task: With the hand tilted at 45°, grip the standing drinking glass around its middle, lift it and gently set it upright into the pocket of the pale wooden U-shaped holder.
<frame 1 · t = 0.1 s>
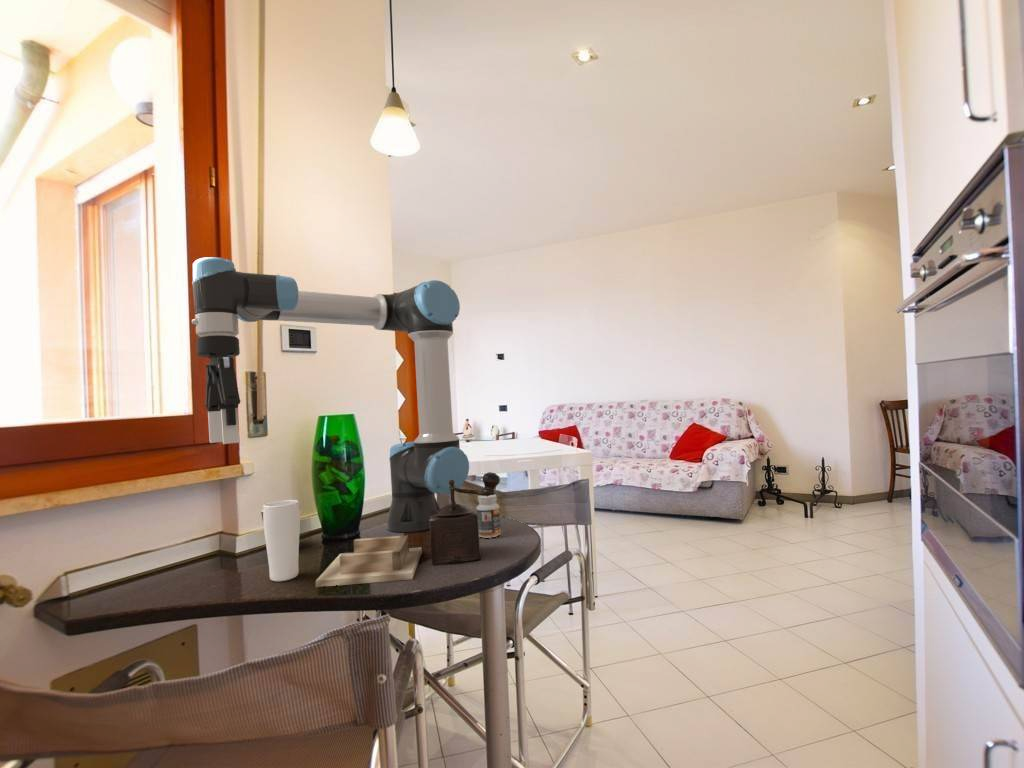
hand: (224, 443, 105), 28 cm above the table, tool pointing down, fingers open, 13 cm apart
drinking glass: (284, 578, 106), on the table
coffee mug: (282, 552, 127), on the table
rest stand: (373, 568, 109), on the table
manual coffee grinder: (467, 556, 114), on the table
pill bottle: (489, 537, 129), on the table
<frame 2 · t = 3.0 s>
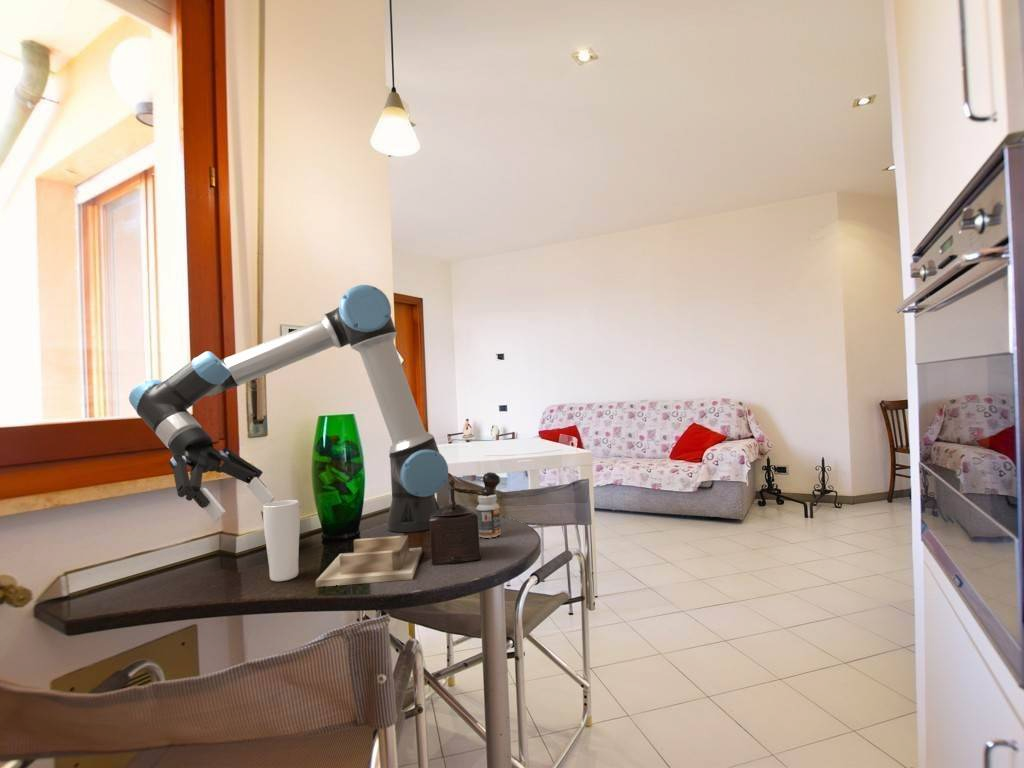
hand: (246, 509, 108), 14 cm above the table, tool tilted 45°, fingers open, 13 cm apart
nothing on the table moved.
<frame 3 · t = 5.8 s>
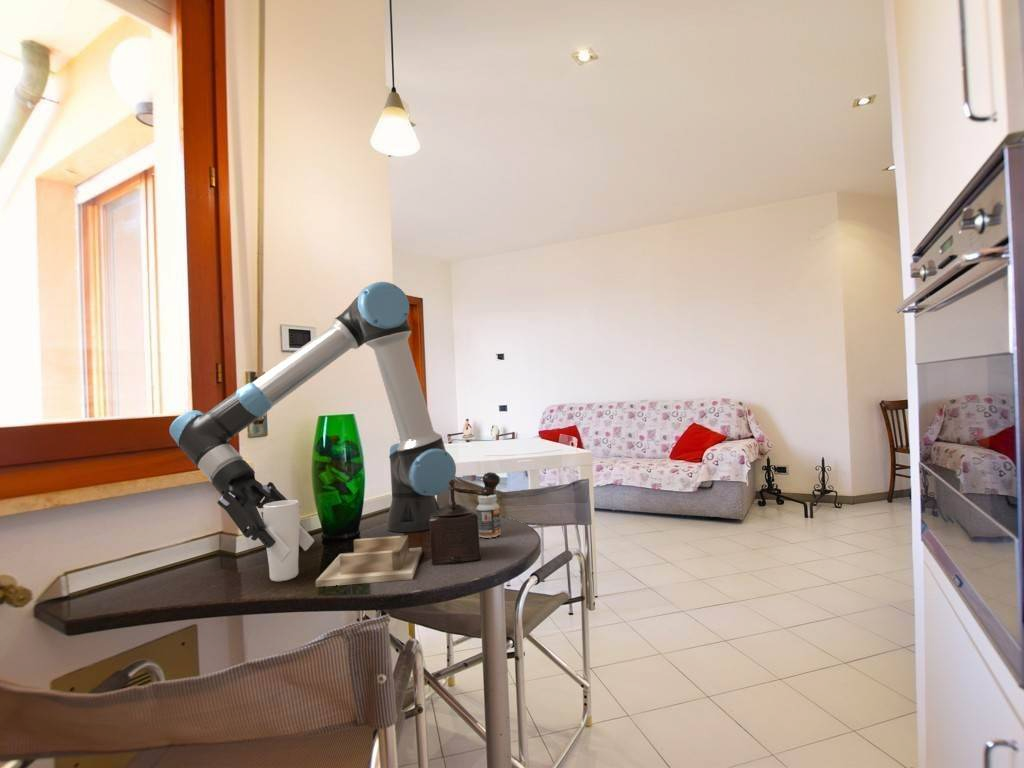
hand: (298, 550, 105), 5 cm above the table, tool tilted 45°, fingers closed on drinking glass, 7 cm apart
drinking glass: (284, 578, 106), on the table, touching gripper
everything else where it was.
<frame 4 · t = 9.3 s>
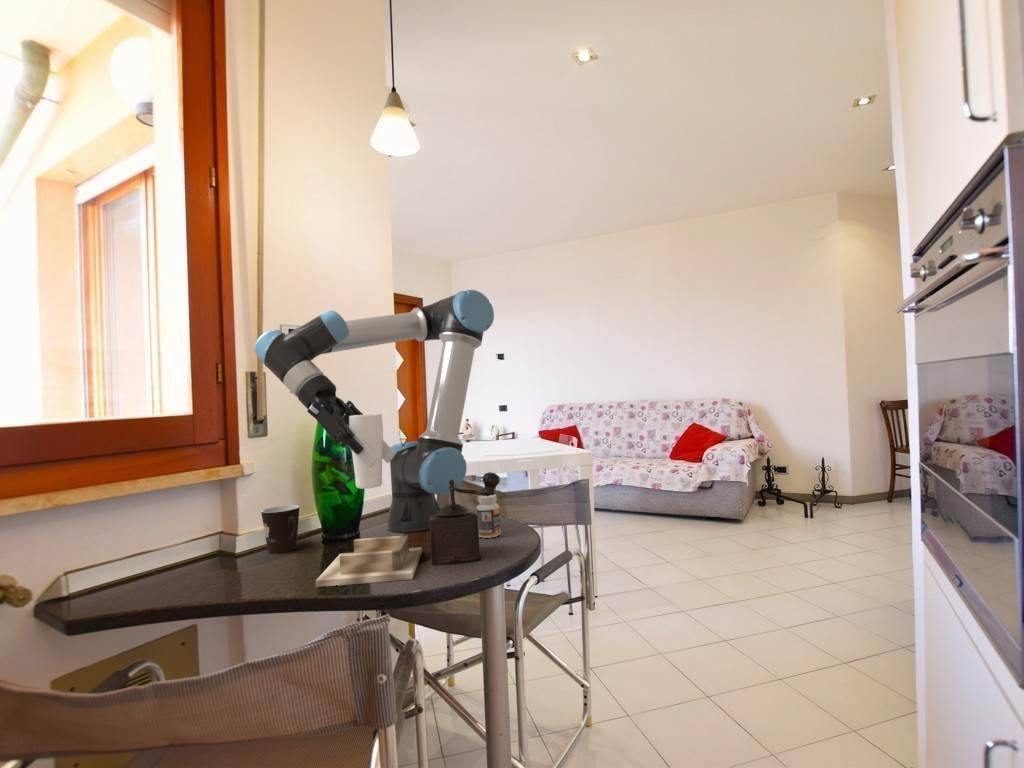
hand: (383, 460, 109), 22 cm above the table, tool tilted 45°, fingers closed on drinking glass, 7 cm apart
drinking glass: (369, 487, 109), point 17 cm above the table, touching gripper
everything else where it was.
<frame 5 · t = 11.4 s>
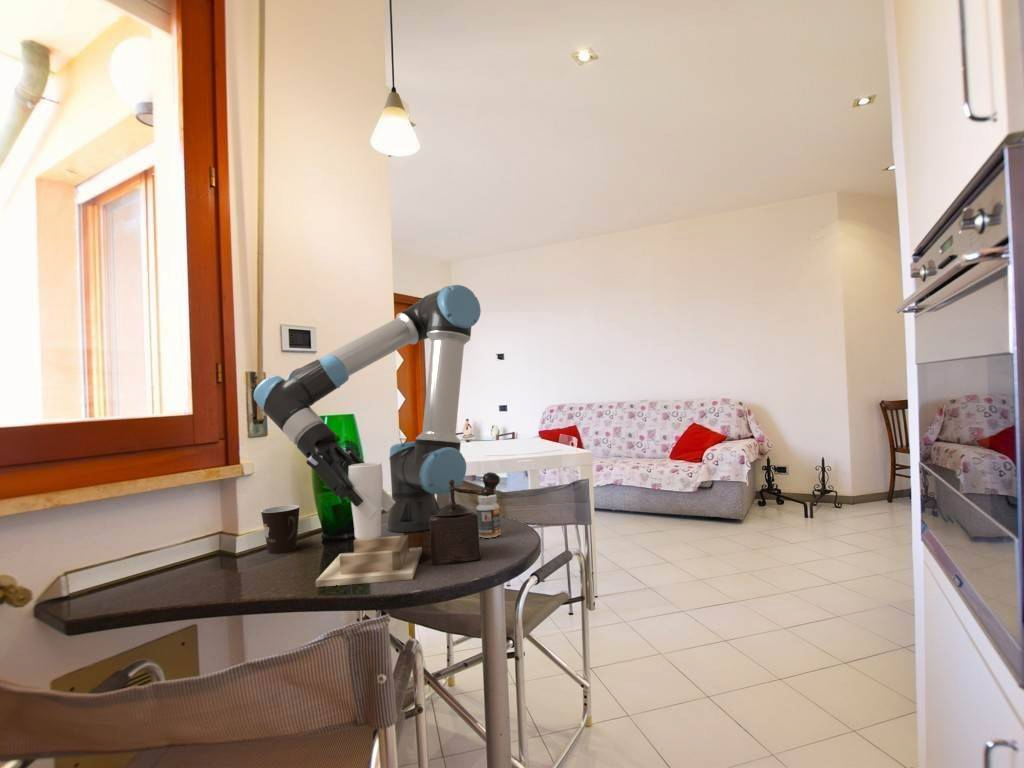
hand: (382, 510, 108), 12 cm above the table, tool tilted 45°, fingers closed on drinking glass, 7 cm apart
drinking glass: (368, 538, 109), point 6 cm above the table, touching gripper
everything else where it was.
when the fingers open (8 cm above the table, at t = 12.9 s): drinking glass drops 1 cm, resting on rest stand.
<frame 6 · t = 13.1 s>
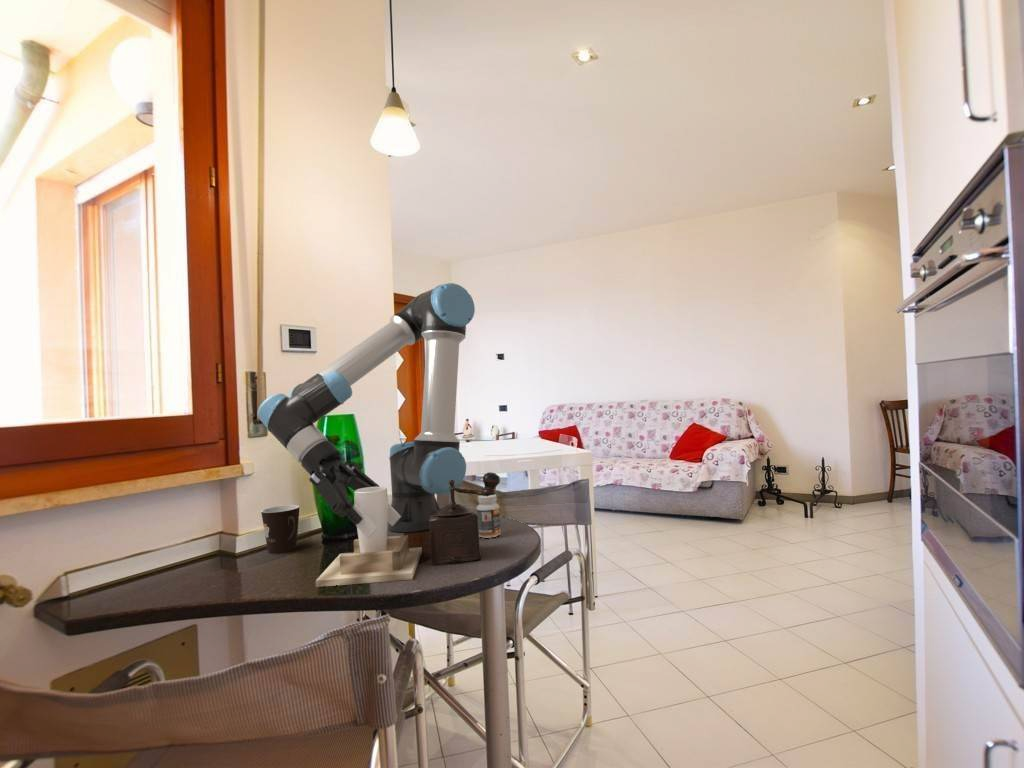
hand: (385, 526, 108), 9 cm above the table, tool tilted 45°, fingers open, 9 cm apart
drinking glass: (374, 562, 109), point 1 cm above the table, touching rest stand
everything else where it was.
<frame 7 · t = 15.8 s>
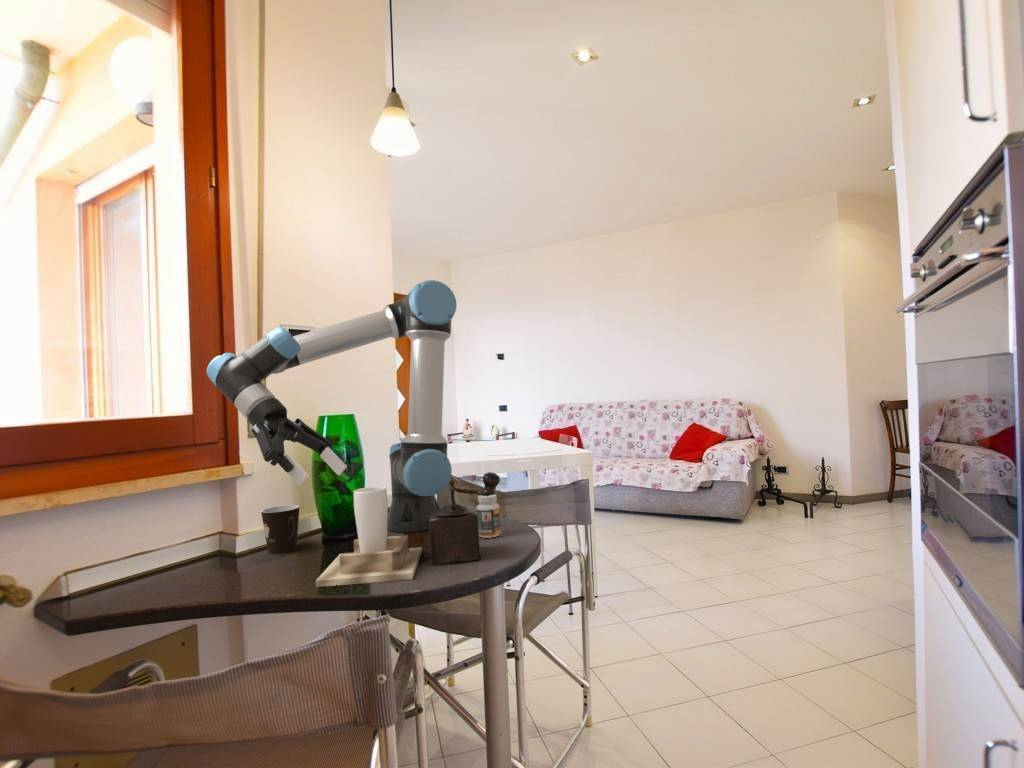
hand: (324, 475, 112), 19 cm above the table, tool tilted 45°, fingers open, 13 cm apart
nothing on the table moved.
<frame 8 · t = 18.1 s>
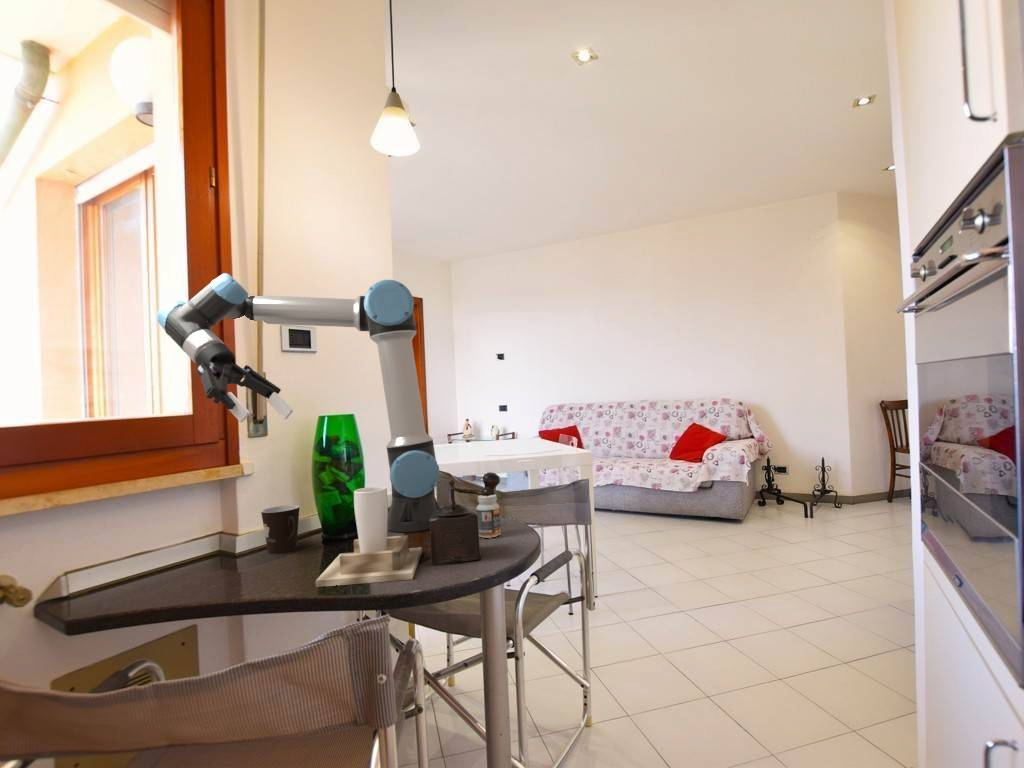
hand: (268, 416, 116), 33 cm above the table, tool tilted 45°, fingers open, 13 cm apart
nothing on the table moved.
at the end: drinking glass 0.5 cm off-centre on the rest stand, point 1.0 cm above the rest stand's base; drinking glass tilted 0°; the gripper is holding nothing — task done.
